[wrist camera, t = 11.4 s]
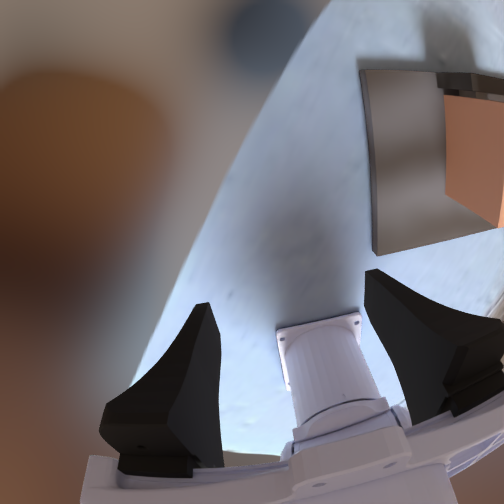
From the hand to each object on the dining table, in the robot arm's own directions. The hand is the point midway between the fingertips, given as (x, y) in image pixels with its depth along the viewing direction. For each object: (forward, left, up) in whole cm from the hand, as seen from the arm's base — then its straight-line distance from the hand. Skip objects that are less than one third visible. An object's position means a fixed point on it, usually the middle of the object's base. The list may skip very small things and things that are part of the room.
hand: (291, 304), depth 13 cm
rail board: (+3, -17, -9) cm, 20 cm away
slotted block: (+4, -17, -8) cm, 19 cm away
